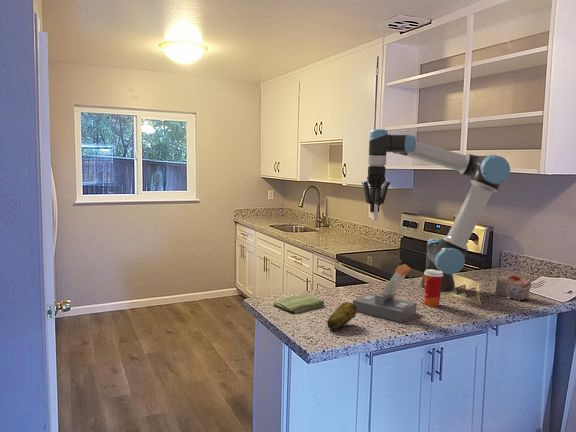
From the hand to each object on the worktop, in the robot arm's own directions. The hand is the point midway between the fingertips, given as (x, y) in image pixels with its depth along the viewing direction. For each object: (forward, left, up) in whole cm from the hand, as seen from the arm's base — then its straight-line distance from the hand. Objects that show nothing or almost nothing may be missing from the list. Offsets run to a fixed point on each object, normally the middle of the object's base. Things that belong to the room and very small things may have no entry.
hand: (374, 219), depth 201 cm
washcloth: (+38, +13, -33) cm, 52 cm away
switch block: (+8, +27, -32) cm, 43 cm away
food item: (-58, +21, -33) cm, 70 cm away
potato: (+31, +38, -33) cm, 59 cm away
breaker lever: (+8, +27, -28) cm, 39 cm away
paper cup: (-16, +23, -33) cm, 43 cm away
